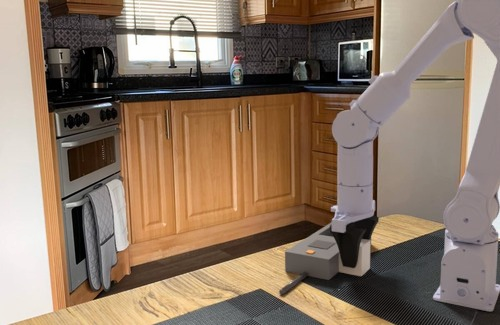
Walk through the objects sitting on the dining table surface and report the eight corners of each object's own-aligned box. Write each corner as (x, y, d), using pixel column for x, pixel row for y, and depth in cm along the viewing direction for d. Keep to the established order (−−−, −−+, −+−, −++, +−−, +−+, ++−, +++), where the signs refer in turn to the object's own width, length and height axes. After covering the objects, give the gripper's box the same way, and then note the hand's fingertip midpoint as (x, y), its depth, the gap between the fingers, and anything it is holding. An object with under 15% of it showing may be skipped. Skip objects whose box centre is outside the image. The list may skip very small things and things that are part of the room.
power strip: (304, 300, 75) (304, 277, 74) (258, 290, 79) (257, 267, 79) (371, 244, 99) (371, 225, 98) (332, 238, 103) (332, 220, 103)
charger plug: (361, 276, 83) (361, 247, 83) (338, 271, 86) (338, 243, 85) (369, 268, 87) (370, 240, 86) (347, 264, 89) (347, 236, 88)
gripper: (348, 173, 92) (348, 245, 94) (313, 189, 80) (314, 272, 82) (387, 176, 88) (385, 252, 90) (356, 194, 76) (355, 280, 78)
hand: (354, 262), depth 86 cm, fingers closed on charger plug, 4 cm apart
